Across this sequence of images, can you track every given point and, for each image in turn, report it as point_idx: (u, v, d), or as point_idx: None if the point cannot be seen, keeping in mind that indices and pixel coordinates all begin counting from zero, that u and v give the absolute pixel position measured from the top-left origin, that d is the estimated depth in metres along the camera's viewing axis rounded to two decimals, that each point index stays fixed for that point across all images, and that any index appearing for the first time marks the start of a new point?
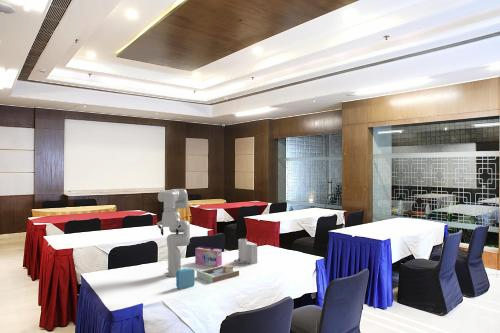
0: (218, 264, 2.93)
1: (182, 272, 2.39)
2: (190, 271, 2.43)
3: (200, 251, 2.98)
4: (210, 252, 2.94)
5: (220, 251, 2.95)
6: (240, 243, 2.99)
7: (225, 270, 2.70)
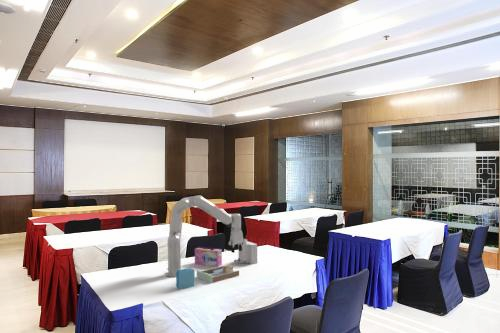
0: (218, 264, 2.92)
1: (182, 272, 2.39)
2: (190, 271, 2.43)
3: (200, 251, 2.97)
4: (210, 252, 2.93)
5: (220, 251, 2.95)
6: None
7: (225, 270, 2.70)
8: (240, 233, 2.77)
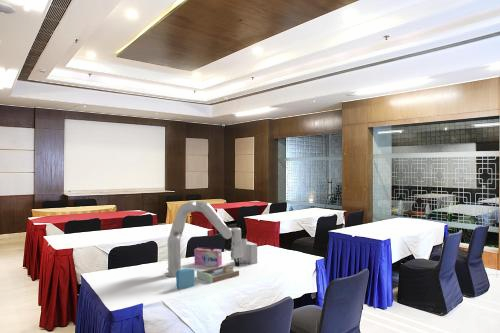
0: (219, 264, 2.92)
1: (182, 272, 2.39)
2: (190, 271, 2.43)
3: (200, 252, 2.96)
4: (210, 252, 2.93)
5: (220, 251, 2.95)
6: None
7: (225, 270, 2.70)
8: (240, 247, 2.77)
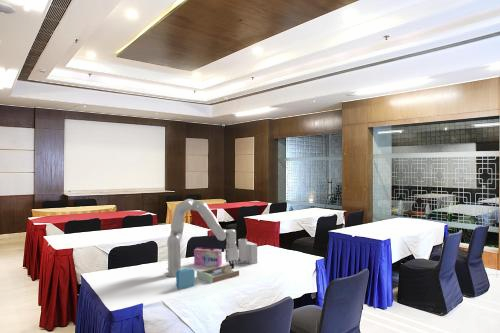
0: (219, 264, 2.92)
1: (182, 272, 2.39)
2: (190, 271, 2.43)
3: (200, 252, 2.95)
4: (211, 252, 2.92)
5: (220, 251, 2.96)
6: (240, 243, 2.99)
7: (224, 270, 2.69)
8: (235, 249, 2.74)
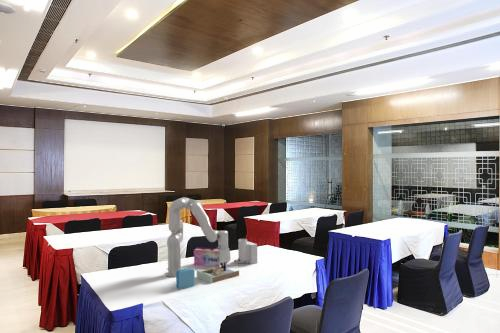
0: (219, 264, 2.92)
1: (182, 272, 2.39)
2: (190, 271, 2.43)
3: (200, 252, 2.95)
4: (211, 252, 2.92)
5: None
6: (240, 243, 2.99)
7: (216, 273, 2.63)
8: (227, 251, 2.69)
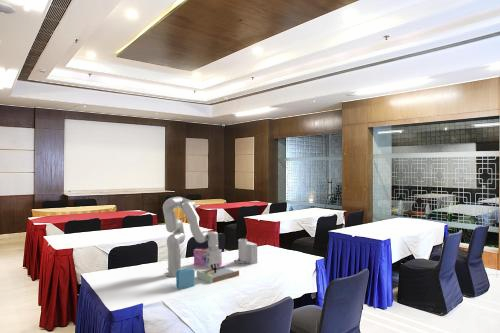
0: (219, 264, 2.92)
1: (182, 272, 2.39)
2: (190, 271, 2.43)
3: (200, 252, 2.94)
4: None
5: (221, 251, 2.96)
6: (240, 243, 2.99)
7: None
8: (217, 252, 2.62)
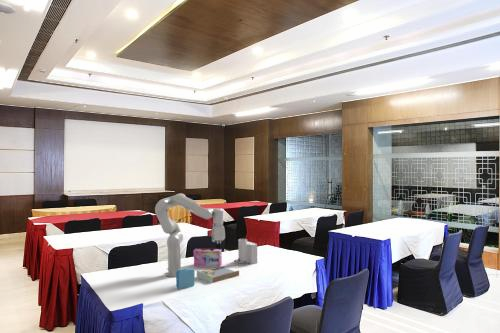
0: (220, 264, 2.92)
1: (182, 272, 2.39)
2: (190, 271, 2.43)
3: (200, 253, 2.93)
4: (212, 253, 2.91)
5: (221, 251, 2.96)
6: (240, 243, 2.99)
7: None
8: (222, 229, 2.68)
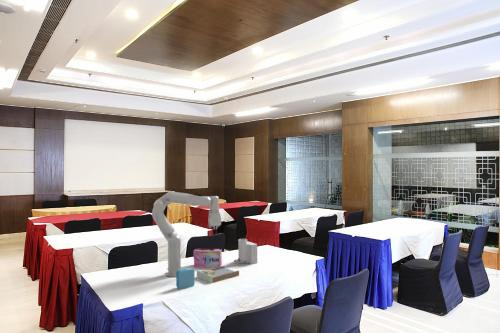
0: (220, 264, 2.92)
1: (182, 272, 2.39)
2: (190, 271, 2.43)
3: (200, 253, 2.92)
4: (212, 253, 2.91)
5: (221, 251, 2.96)
6: (240, 243, 2.99)
7: None
8: (218, 215, 2.81)
